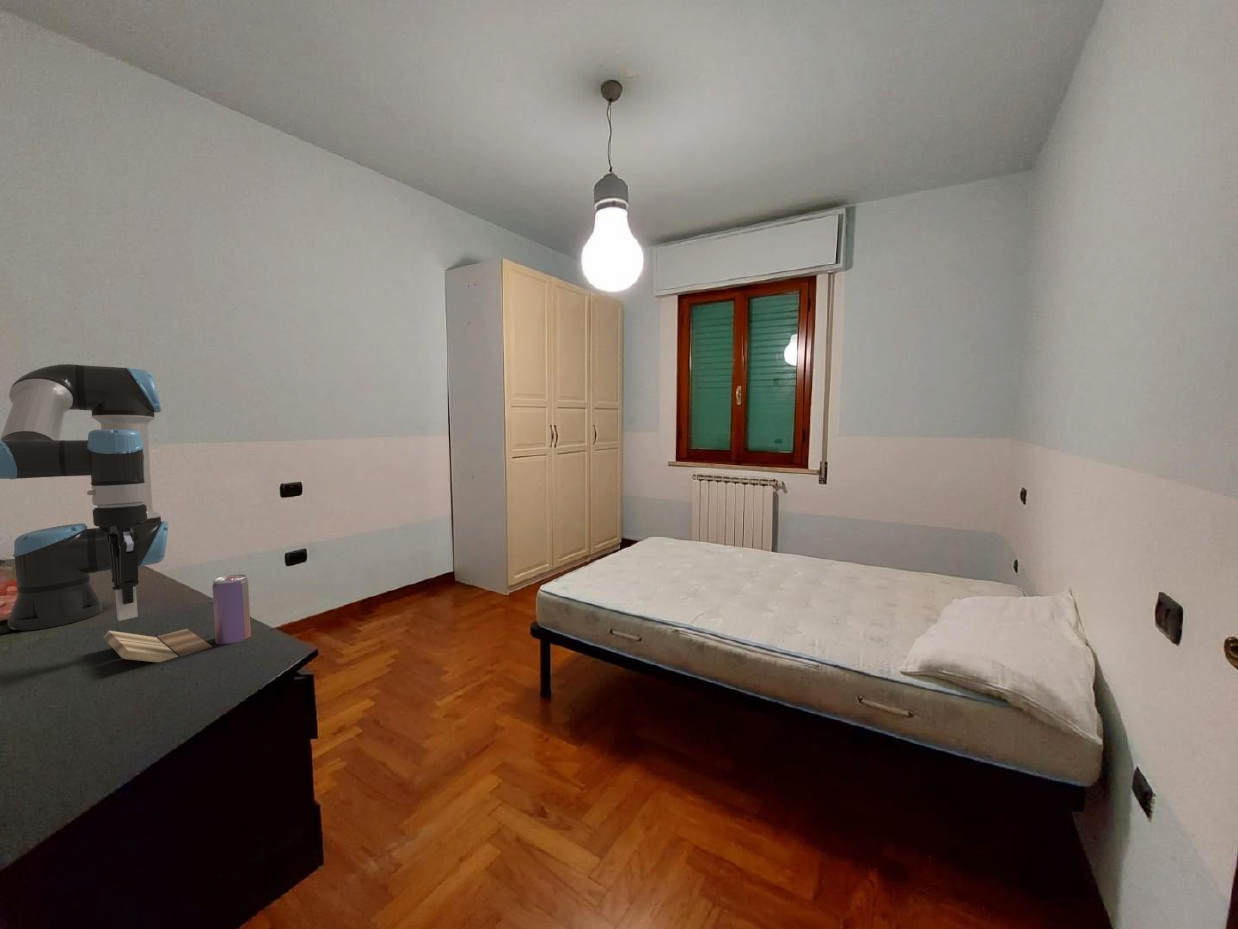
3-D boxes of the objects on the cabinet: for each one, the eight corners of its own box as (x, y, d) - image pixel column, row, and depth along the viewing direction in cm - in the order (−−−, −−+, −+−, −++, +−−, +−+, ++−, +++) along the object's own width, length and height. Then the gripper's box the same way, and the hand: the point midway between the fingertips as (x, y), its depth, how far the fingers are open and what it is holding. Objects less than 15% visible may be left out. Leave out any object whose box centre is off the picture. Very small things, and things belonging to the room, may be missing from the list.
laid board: (157, 643, 103) (157, 636, 103) (187, 634, 107) (187, 628, 107) (181, 663, 93) (180, 656, 93) (213, 653, 97) (212, 646, 97)
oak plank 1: (103, 637, 96) (108, 630, 96) (151, 644, 102) (155, 637, 102) (112, 647, 91) (117, 639, 92) (161, 653, 97) (166, 646, 98)
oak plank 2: (112, 648, 91) (117, 640, 92) (162, 654, 97) (166, 646, 98) (122, 658, 87) (127, 650, 87) (173, 664, 93) (178, 656, 93)
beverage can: (231, 652, 98) (227, 583, 97) (208, 649, 99) (204, 581, 98) (258, 640, 104) (254, 574, 103) (236, 638, 105) (233, 573, 104)
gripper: (86, 505, 95) (93, 617, 96) (99, 509, 88) (107, 631, 89) (137, 501, 101) (144, 606, 102) (154, 504, 94) (161, 618, 95)
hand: (127, 618), depth 95 cm, fingers closed
